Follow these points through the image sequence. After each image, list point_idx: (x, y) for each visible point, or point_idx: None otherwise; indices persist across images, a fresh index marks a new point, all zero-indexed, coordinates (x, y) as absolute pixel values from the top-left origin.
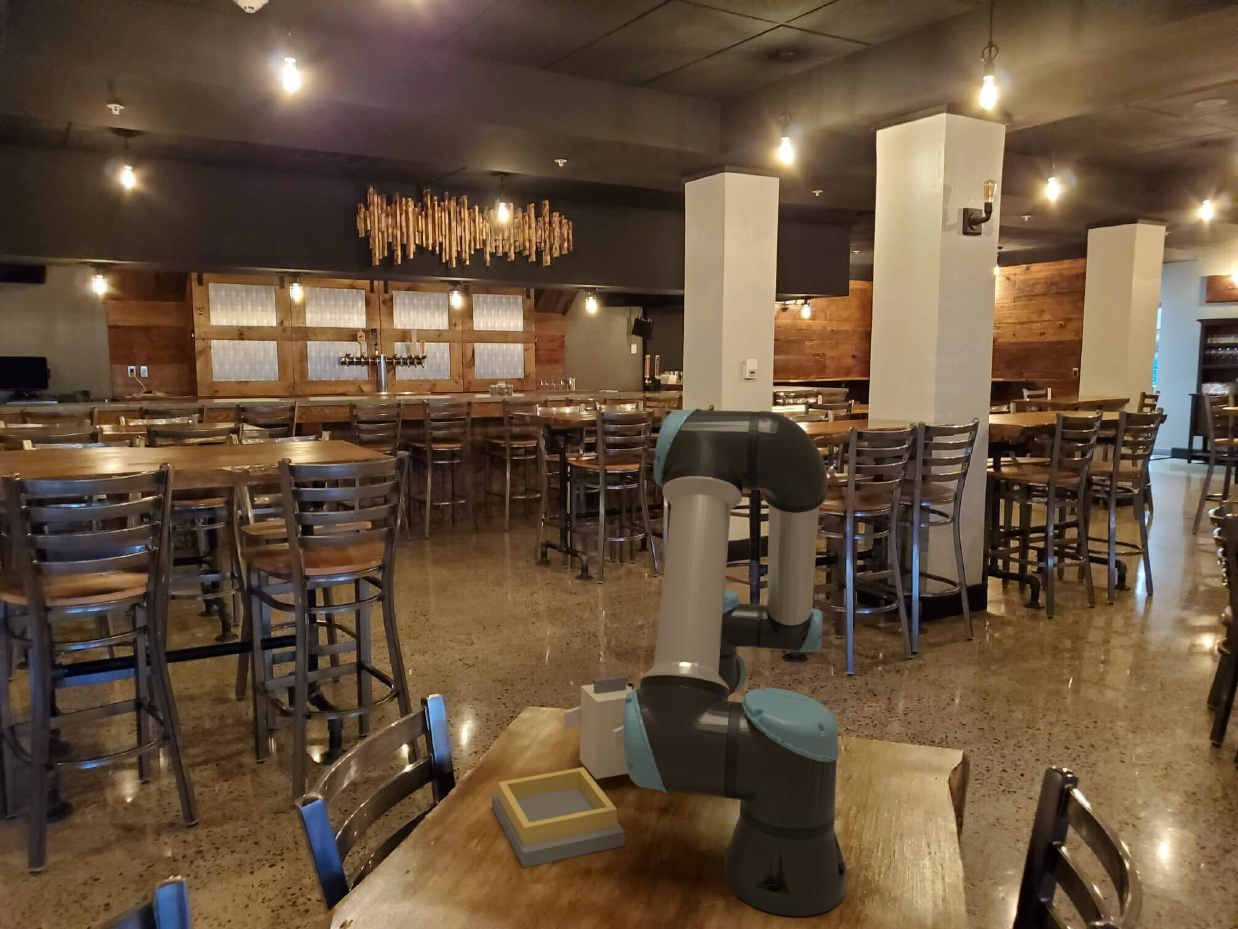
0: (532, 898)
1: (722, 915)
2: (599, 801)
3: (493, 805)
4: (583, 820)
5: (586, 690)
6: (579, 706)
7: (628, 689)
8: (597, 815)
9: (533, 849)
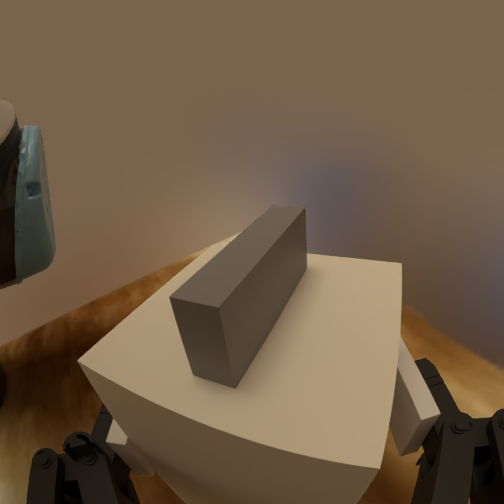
0: (160, 282)
1: (10, 343)
2: None
3: None
4: None
5: (339, 258)
6: (403, 348)
7: (185, 390)
8: None
9: None
